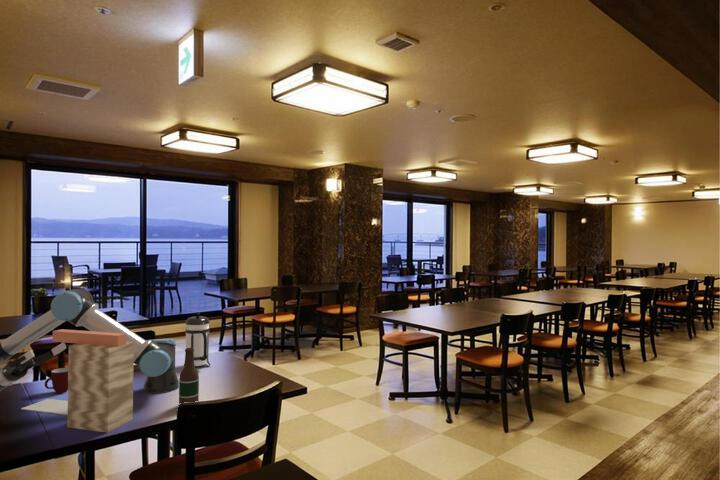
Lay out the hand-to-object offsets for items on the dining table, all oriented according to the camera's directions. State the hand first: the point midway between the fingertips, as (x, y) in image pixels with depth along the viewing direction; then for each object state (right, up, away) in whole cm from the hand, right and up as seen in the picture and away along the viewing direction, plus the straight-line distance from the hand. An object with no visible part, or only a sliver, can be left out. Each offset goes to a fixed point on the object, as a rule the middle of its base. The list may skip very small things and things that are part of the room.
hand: (49, 349), depth 173 cm
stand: (+24, -27, -6) cm, 36 cm away
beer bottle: (+49, -27, +13) cm, 58 cm away
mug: (-15, -27, +27) cm, 41 cm away
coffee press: (+32, -28, +72) cm, 84 cm away
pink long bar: (+18, +3, -4) cm, 19 cm away
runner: (0, -27, +9) cm, 28 cm away
